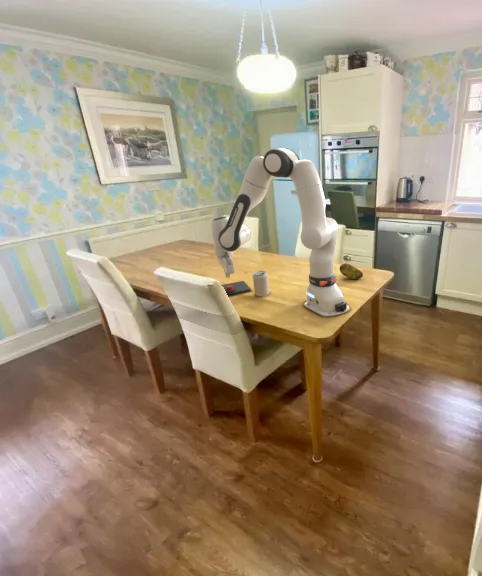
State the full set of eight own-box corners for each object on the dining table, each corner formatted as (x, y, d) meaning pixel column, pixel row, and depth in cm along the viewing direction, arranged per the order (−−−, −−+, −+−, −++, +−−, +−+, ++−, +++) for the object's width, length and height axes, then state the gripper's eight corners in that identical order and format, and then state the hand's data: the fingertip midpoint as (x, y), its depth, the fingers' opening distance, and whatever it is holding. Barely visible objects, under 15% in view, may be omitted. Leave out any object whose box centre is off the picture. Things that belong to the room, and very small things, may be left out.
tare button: (233, 289, 162) (233, 286, 162) (227, 291, 161) (227, 287, 160) (232, 287, 165) (231, 284, 164) (226, 289, 164) (225, 285, 163)
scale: (251, 292, 166) (250, 286, 165) (226, 297, 160) (225, 291, 159) (243, 282, 178) (242, 277, 177) (220, 287, 173) (219, 282, 171)
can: (266, 297, 158) (264, 275, 154) (252, 296, 160) (249, 274, 155) (271, 291, 165) (269, 270, 161) (258, 291, 167) (255, 269, 162)
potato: (356, 282, 174) (356, 268, 171) (337, 277, 182) (337, 264, 179) (364, 278, 180) (364, 264, 177) (345, 273, 187) (345, 260, 184)
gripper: (235, 254, 148) (239, 282, 153) (226, 245, 165) (229, 270, 170) (222, 257, 145) (226, 285, 151) (213, 246, 162) (217, 272, 167)
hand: (227, 277), depth 161 cm, fingers closed
